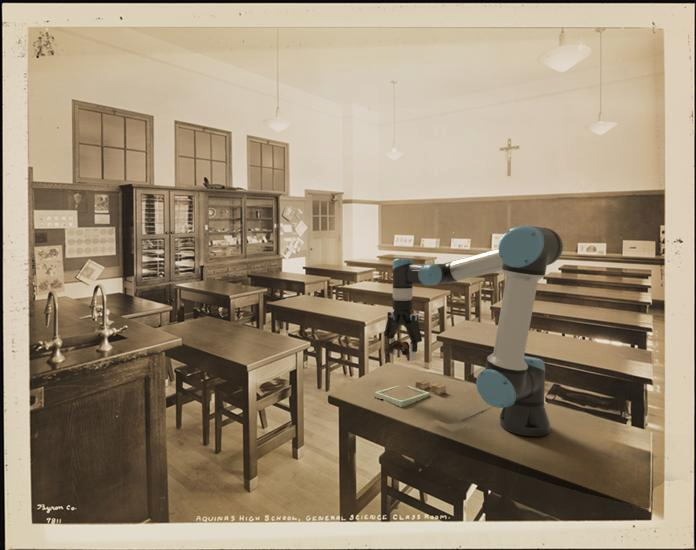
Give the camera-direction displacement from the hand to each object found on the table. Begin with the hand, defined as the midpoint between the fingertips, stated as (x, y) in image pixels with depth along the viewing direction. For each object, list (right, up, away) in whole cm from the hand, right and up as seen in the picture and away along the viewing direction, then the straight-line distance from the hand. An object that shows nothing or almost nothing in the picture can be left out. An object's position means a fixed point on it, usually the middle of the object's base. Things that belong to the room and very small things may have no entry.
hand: (402, 357), depth 155 cm
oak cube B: (+9, -15, +8) cm, 20 cm away
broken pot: (+1, -1, 0) cm, 2 cm away
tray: (0, -15, +1) cm, 15 cm away
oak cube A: (+14, -15, +3) cm, 21 cm away
